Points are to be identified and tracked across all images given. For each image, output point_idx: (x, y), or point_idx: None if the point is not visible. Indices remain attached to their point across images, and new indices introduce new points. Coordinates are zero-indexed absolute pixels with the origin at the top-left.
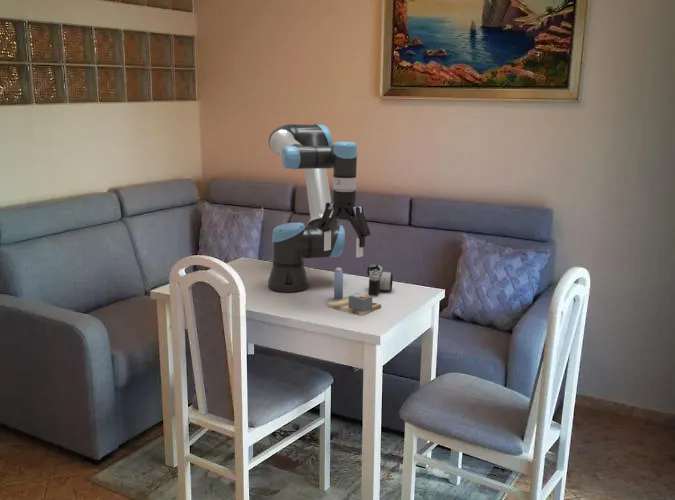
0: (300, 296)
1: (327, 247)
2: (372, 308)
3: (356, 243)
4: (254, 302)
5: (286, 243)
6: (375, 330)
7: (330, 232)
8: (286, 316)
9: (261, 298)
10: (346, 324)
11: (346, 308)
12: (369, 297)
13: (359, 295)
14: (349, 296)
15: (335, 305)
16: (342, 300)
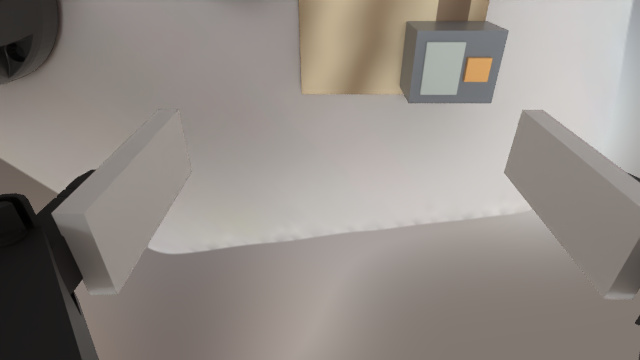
0: (118, 52)
1: (179, 166)
2: (485, 14)
3: (564, 247)
4: None
5: None
6: None
7: (100, 213)
8: (273, 237)
9: (63, 165)
10: (462, 188)
11: (394, 93)
12: (501, 53)
13: (449, 68)
14: (412, 102)
15: (338, 93)
16: (318, 18)
